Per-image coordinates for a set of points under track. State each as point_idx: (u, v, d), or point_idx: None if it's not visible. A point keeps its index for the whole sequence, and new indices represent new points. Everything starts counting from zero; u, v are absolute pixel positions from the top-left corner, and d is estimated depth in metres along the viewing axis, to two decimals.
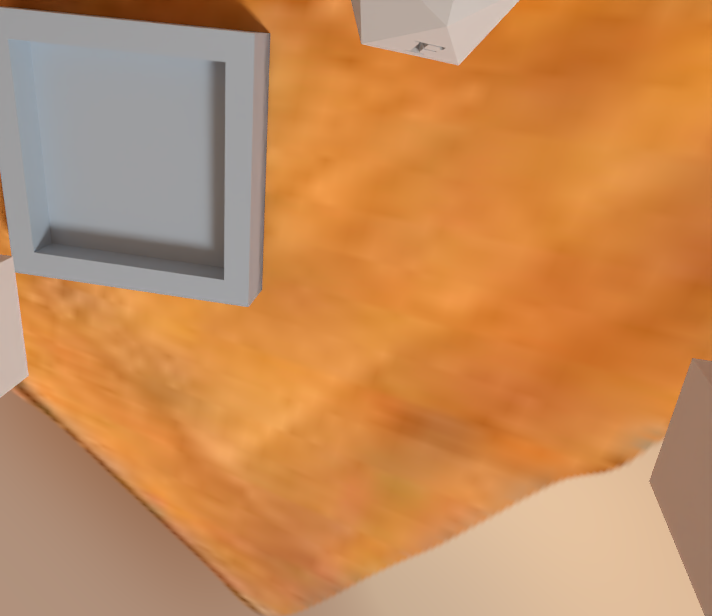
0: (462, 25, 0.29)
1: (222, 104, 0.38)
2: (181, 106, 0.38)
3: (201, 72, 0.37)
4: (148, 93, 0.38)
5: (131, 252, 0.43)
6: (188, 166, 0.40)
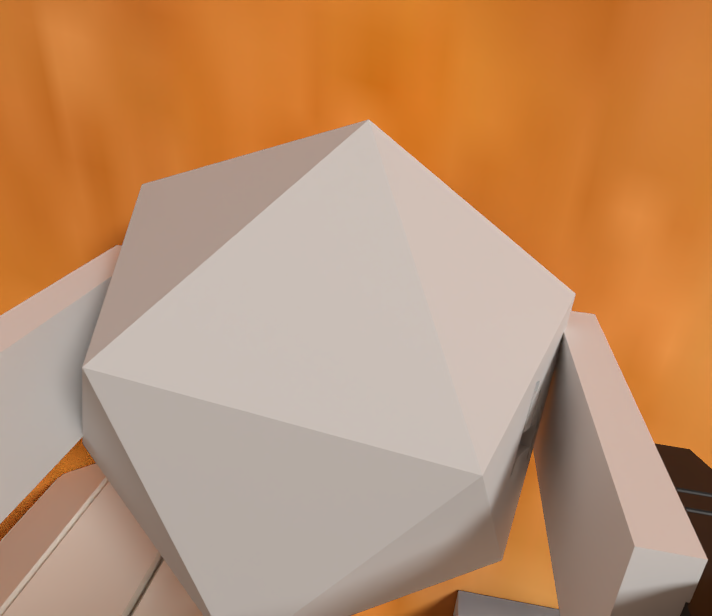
0: (480, 383, 0.09)
1: None
2: None
3: None
4: None
5: None
6: None
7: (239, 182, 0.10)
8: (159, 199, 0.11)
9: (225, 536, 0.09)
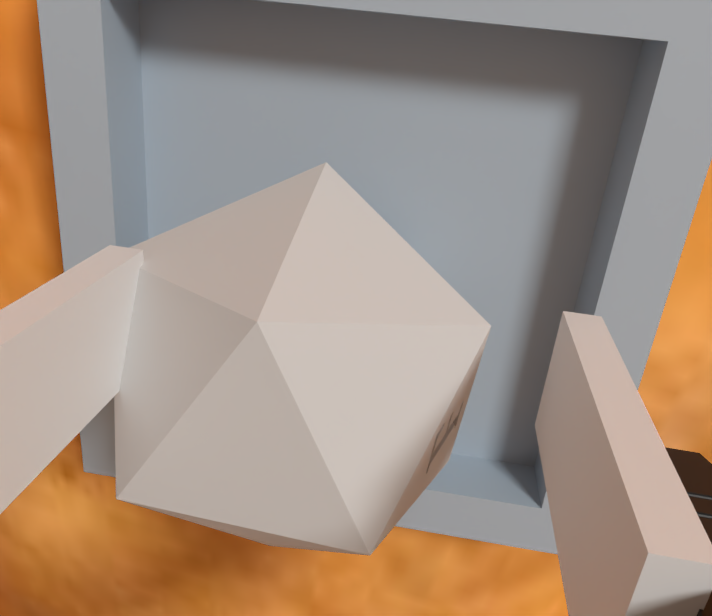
0: (372, 491, 0.12)
1: (230, 35, 0.17)
2: (242, 134, 0.18)
3: (171, 79, 0.17)
4: (225, 205, 0.19)
5: (569, 306, 0.18)
6: (370, 136, 0.17)
7: (176, 332, 0.12)
8: None
9: (238, 533, 0.15)
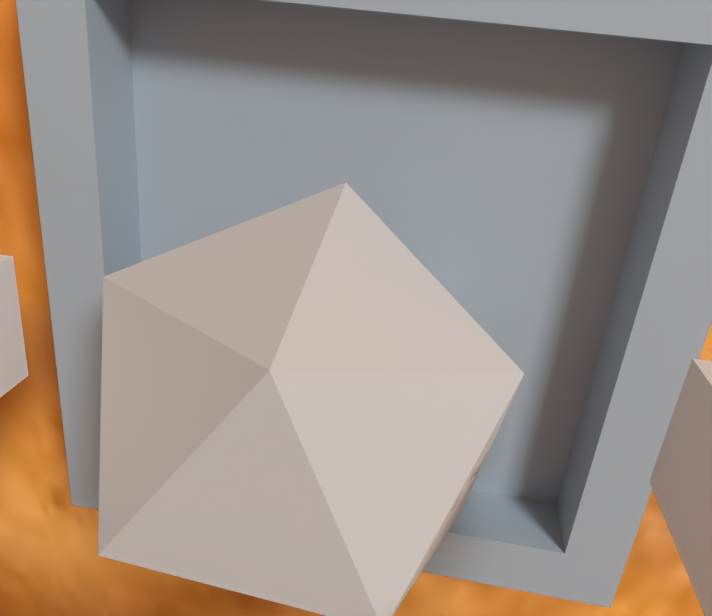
0: (389, 559, 0.11)
1: (229, 38, 0.15)
2: (241, 146, 0.16)
3: (165, 86, 0.16)
4: (222, 222, 0.17)
5: (596, 333, 0.17)
6: (380, 149, 0.16)
7: (174, 372, 0.11)
8: (119, 332, 0.12)
9: None
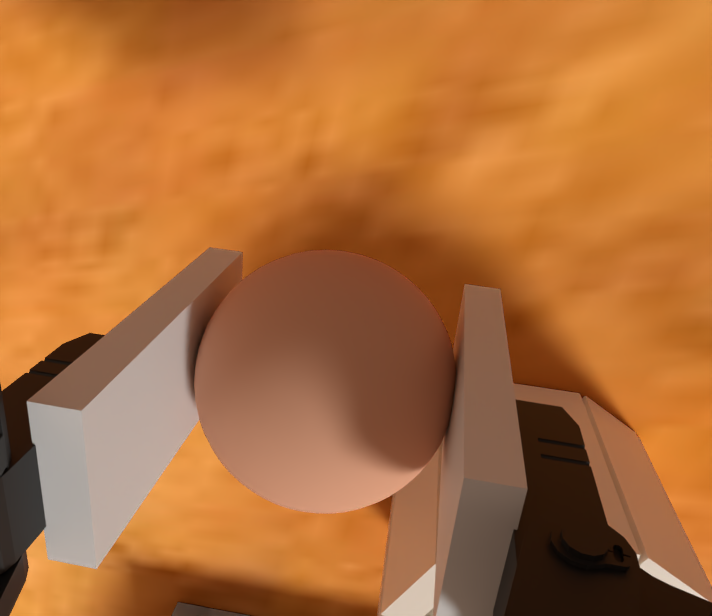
0: None
1: None
2: None
3: None
4: None
5: None
6: None
7: None
8: None
9: None
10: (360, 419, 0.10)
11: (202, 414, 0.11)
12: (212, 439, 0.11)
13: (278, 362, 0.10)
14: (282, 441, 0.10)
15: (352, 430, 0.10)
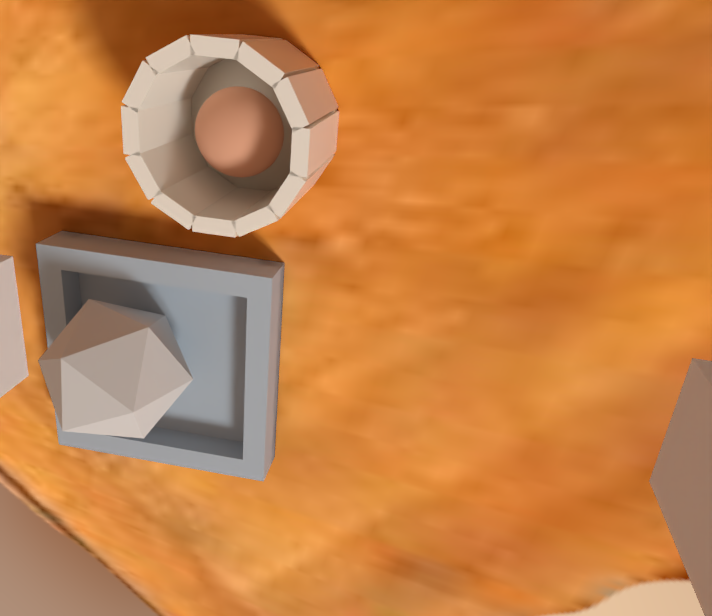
0: (84, 429, 0.40)
1: (242, 318, 0.44)
2: (207, 317, 0.44)
3: None
4: (178, 306, 0.44)
5: (161, 426, 0.49)
6: (212, 363, 0.46)
7: (125, 375, 0.39)
8: (132, 343, 0.39)
9: (50, 372, 0.40)
10: (241, 127, 0.34)
11: (196, 135, 0.35)
12: (199, 142, 0.35)
13: (218, 110, 0.34)
14: (219, 133, 0.34)
15: (239, 130, 0.34)
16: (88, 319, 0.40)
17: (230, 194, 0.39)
